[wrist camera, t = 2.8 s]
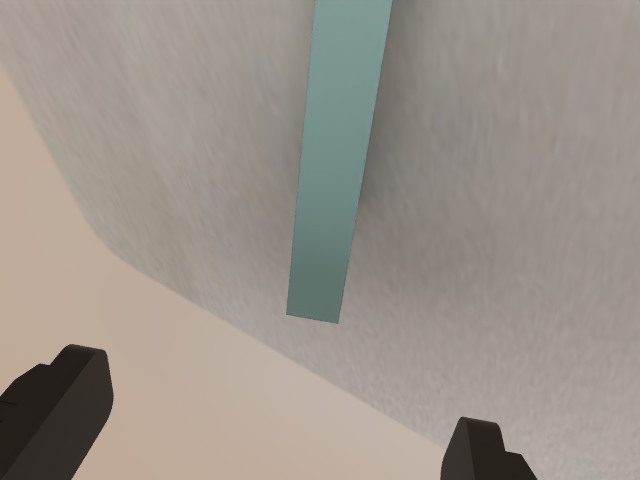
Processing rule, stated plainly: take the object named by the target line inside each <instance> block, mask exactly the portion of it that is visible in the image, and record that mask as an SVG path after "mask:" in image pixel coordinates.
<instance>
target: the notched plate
mask: <svg viewBox="0 0 640 480" xmlns="http://www.w3.org/2000/svg"><path fill="white" fill-rule="evenodd" d="M392 1H393V0H316V1H315V12H314V22H313V33H312V44H311V55H310V65H309V76H308V87H307V97H306V108H305V119H304V130H303V140H302V151H301V162H300V172H299V183H298V194H297V205H296V215H295V226H294V237H293V247H292V258H291V269H290V279H289V290H288V301H287V312H286V315H291V316H297V317H302V318H308V319H313V320H319V321H325V322H330V323H336V324H338V322H339V316H340V310H341V304H342V298H343V292H344V286H345V280H346V274H347V268H348V262H349V256H350V250H351V244H352V239H353V233H354V227H355V221H356V215H357V209H358V203H359V197H360V191H361V185H362V179H363V173H364V167H365V161H366V155H367V149H368V143H369V137H370V131H371V126H372V120H373V114H374V108H375V102H376V96H377V90H378V84H379V78H380V72H381V66H382V60H383V54H384V48H385V42H386V36H387V30H388V24H389V18H390V13H391V7H392Z"/></svg>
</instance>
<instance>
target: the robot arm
mask: <svg viewBox="0 0 640 480" xmlns="http://www.w3.org/2000/svg"><path fill="white" fill-rule="evenodd" d="M112 405H113V388H112V383H111V376H110V370H109V364H108V358H107V354H106V352H105V351H104V350H102V349H96V348H91V347H85V346H80V345H74V344H70V345H68V346H66V347H65V348H64V349H63V350H62V351H61V352H60V353H59V355H58V356H57V357H56V358H55V359H54V361H53V362H52V363H51V364H50V365H45V364H38V365H36V366H35V367H33V368H32V369H30V370H29V371H27V372H26V373H25V374H23V375H21V376H20V377H18V378H17V379H15V380H14V381H13V382H12V384H11V385H10V386H9V387H8V388H7V389H6V390H5V392H4V393H3V394H2V395H1V396H0V480H71V479H72V478H73V476H74V474H75V473H76V471H77V469H78V468H79V466H80V465H81V463H82V461H83V459H84V458H85V456H86V455H87V453H88V451H89V450H90V448H91V446H92V445H93V443H94V441H95V440H96V438H97V437H98V435H99V433H100V432H101V430H102V428H103V427H104V425H105V423H106V422H107V420H108V418H109V415H110V412H111V409H112ZM440 480H537V478H536V477H535V475H534V473H533V472H532V470H531V469H530V467H529V466H528V464H527V463H526V461H525V460H524V458H523V457H522V455H521V454H517V453H512V452H507V451H505V448H504V443H503V438H502V434H501V430H500V427H499V425H498V424H497V423H494V422H489V421H483V420H478V419H472V418H467V417H461V418H460V419H459V421H458V423H457V426H456V428H455V431H454V433H453V436H452V438H451V441H450V443H449V445H448V448H447V450H446V453H445V455H444V458H443V462H442V467H441V478H440Z"/></svg>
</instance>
